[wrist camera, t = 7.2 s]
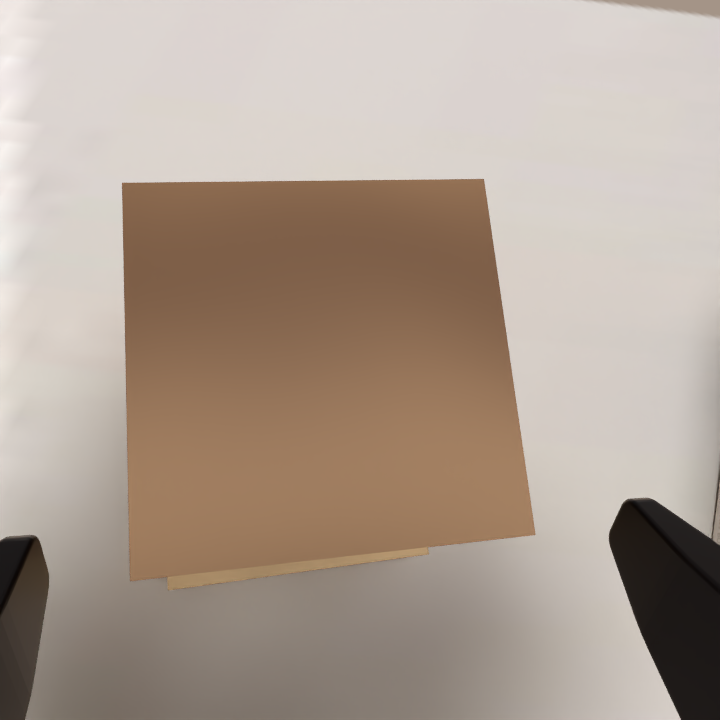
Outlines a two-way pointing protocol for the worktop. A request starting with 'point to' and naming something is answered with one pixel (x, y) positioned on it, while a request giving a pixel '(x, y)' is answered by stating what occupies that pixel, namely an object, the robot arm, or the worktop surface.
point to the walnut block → (314, 373)
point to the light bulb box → (717, 521)
